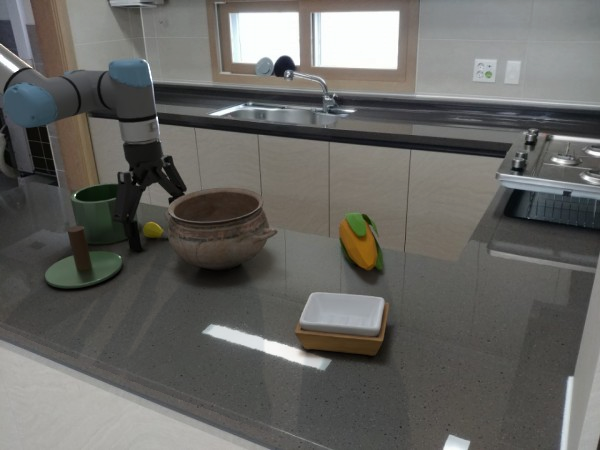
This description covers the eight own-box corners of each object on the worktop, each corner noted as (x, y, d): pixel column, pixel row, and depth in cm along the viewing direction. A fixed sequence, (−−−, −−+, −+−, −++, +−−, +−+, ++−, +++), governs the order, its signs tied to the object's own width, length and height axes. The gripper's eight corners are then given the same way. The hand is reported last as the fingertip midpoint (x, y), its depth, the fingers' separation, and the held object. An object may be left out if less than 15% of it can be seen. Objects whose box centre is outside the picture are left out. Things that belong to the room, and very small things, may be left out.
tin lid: (29, 282, 100) (17, 237, 96) (88, 251, 111) (78, 210, 107) (82, 297, 94) (71, 250, 90) (138, 263, 105) (130, 220, 101)
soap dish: (388, 323, 83) (389, 295, 81) (382, 363, 74) (383, 332, 72) (309, 315, 85) (308, 288, 83) (295, 353, 77) (293, 323, 75)
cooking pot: (302, 253, 106) (300, 195, 101) (250, 299, 91) (244, 234, 86) (201, 233, 117) (194, 180, 112) (139, 271, 102) (129, 211, 97)
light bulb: (146, 233, 118) (150, 218, 117) (170, 243, 117) (174, 228, 116) (138, 235, 114) (142, 220, 114) (162, 245, 113) (167, 229, 113)
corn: (369, 201, 109) (392, 242, 91) (371, 234, 112) (394, 281, 94) (333, 205, 109) (349, 248, 91) (336, 239, 112) (352, 287, 94)
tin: (67, 238, 117) (57, 198, 113) (110, 218, 127) (102, 180, 123) (109, 248, 112) (100, 206, 108) (151, 226, 122) (144, 186, 118)
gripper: (108, 158, 96) (129, 264, 104) (195, 127, 115) (206, 218, 124) (79, 154, 99) (101, 258, 107) (168, 125, 119) (181, 214, 127)
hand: (158, 237), depth 116 cm, fingers open, 13 cm apart
